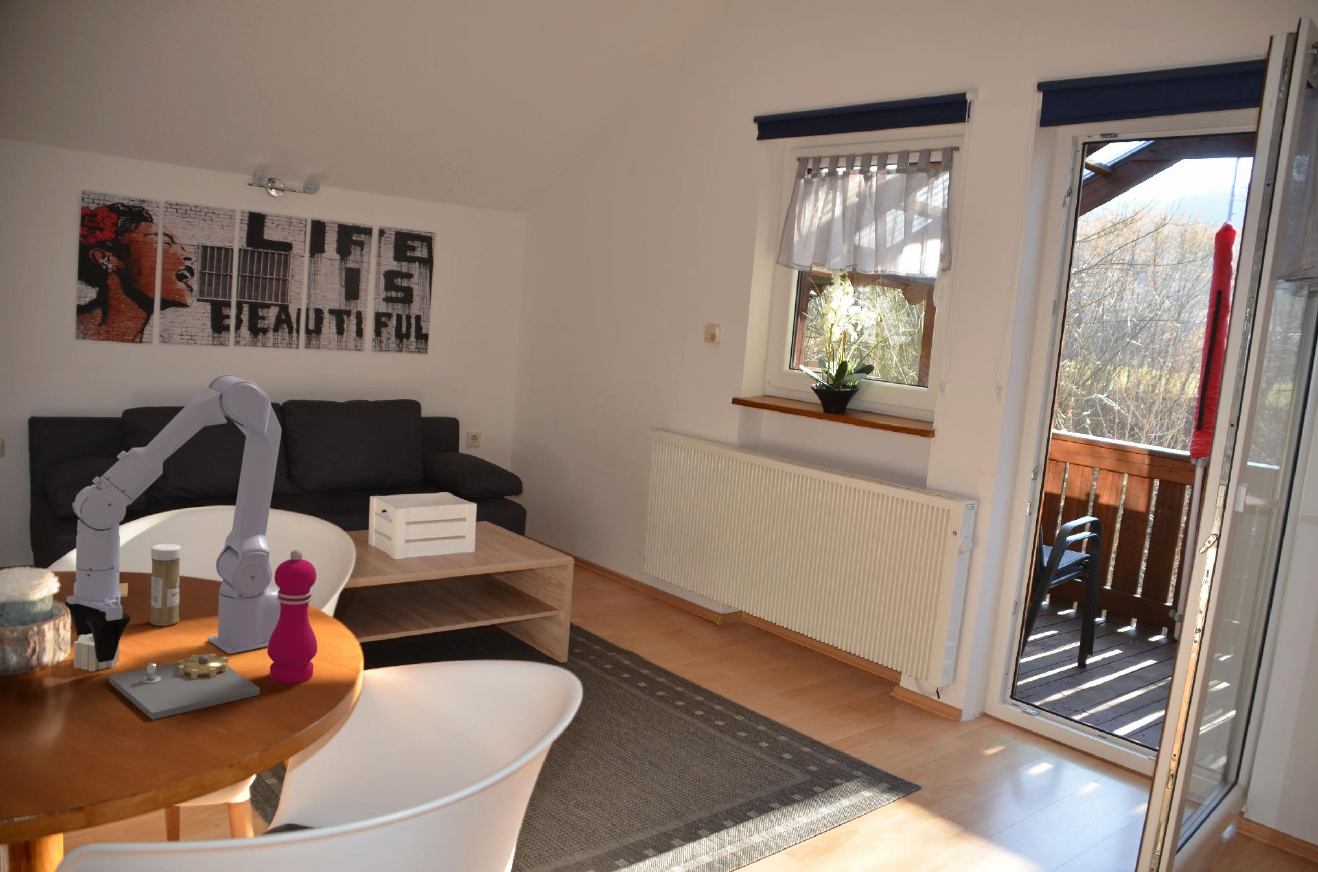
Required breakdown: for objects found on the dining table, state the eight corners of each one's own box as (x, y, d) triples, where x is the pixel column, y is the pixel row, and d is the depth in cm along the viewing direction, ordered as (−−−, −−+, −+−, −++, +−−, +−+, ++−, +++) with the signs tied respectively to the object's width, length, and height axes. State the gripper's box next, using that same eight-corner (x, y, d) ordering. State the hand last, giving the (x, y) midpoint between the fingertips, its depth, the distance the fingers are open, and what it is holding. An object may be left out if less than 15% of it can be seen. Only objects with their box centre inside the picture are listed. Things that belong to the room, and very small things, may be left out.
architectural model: (127, 602, 183) (128, 562, 182) (126, 614, 177) (127, 573, 176) (106, 603, 182) (106, 563, 181) (104, 615, 176) (105, 574, 175)
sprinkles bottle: (181, 625, 173) (183, 548, 171) (151, 628, 171) (153, 550, 169) (177, 617, 177) (178, 542, 175) (147, 619, 174) (149, 543, 173)
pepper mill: (269, 687, 151) (274, 556, 149) (263, 669, 158) (268, 544, 155) (319, 682, 155) (325, 555, 152) (312, 665, 161) (317, 542, 158)
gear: (111, 654, 158) (111, 629, 158) (124, 665, 154) (125, 640, 154) (68, 662, 154) (68, 636, 153) (81, 673, 150) (81, 647, 149)
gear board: (211, 661, 159) (212, 639, 159) (259, 694, 148) (260, 671, 148) (108, 681, 148) (109, 658, 148) (152, 719, 137) (152, 695, 137)
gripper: (52, 557, 154) (51, 643, 156) (85, 581, 144) (84, 673, 146) (102, 551, 159) (101, 635, 161) (138, 575, 149) (136, 663, 151)
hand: (96, 652), depth 154 cm, fingers open, 7 cm apart
